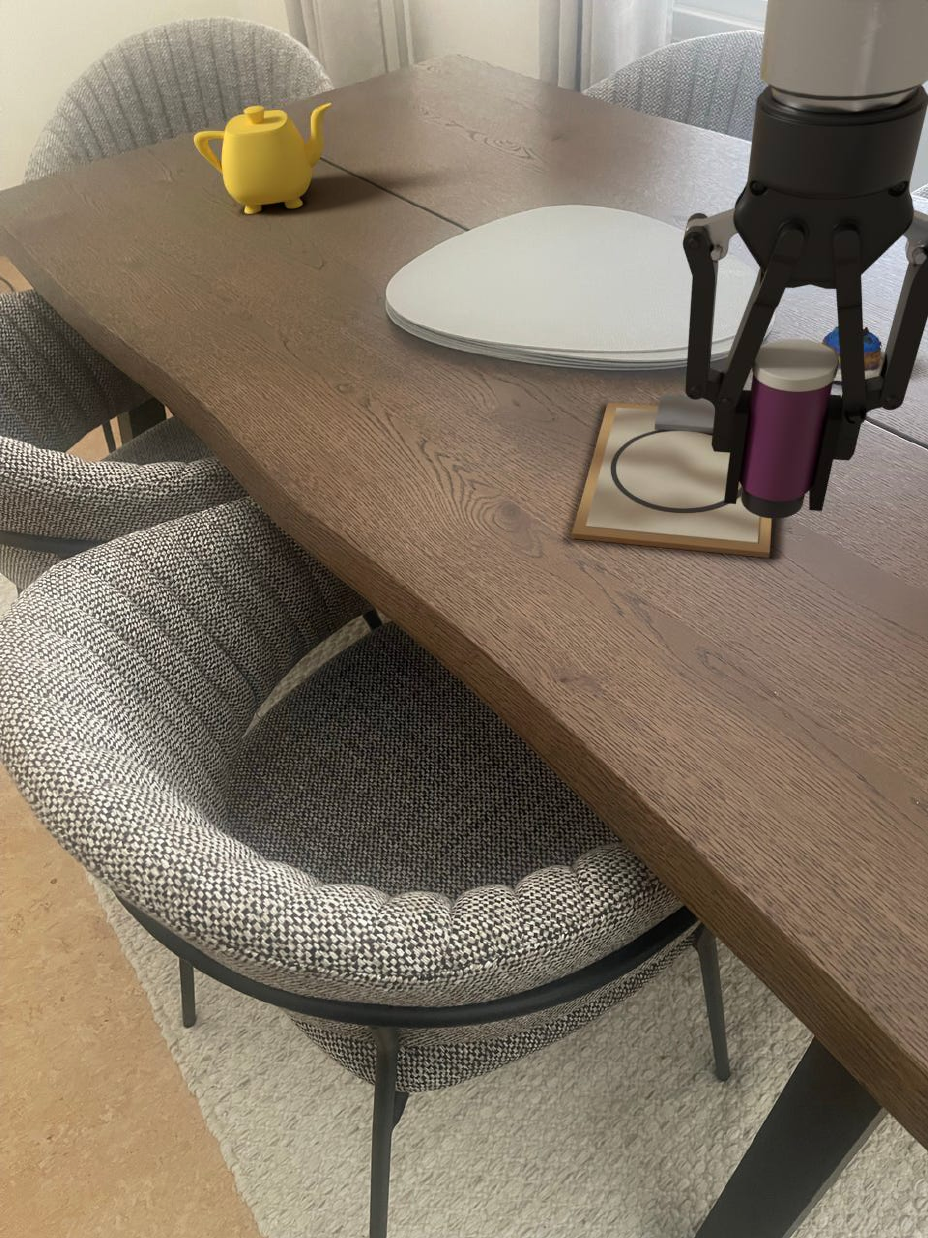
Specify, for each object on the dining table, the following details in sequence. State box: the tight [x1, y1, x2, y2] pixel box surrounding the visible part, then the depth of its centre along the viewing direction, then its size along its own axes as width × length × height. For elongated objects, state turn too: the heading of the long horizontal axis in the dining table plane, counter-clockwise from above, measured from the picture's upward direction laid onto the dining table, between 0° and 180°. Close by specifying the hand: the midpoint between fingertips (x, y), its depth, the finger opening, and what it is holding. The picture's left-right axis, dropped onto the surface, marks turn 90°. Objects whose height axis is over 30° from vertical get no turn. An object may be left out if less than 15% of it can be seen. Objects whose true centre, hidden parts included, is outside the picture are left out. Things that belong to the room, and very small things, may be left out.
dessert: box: [821, 325, 883, 382], centre depth 93 cm, size 8×7×6 cm
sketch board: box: [571, 394, 773, 559], centre depth 83 cm, size 21×16×1 cm
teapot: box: [193, 102, 332, 215], centre depth 134 cm, size 13×20×12 cm
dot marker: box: [739, 338, 839, 520], centre depth 56 cm, size 5×5×10 cm
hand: (773, 493), depth 59 cm, fingers closed on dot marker, 4 cm apart
